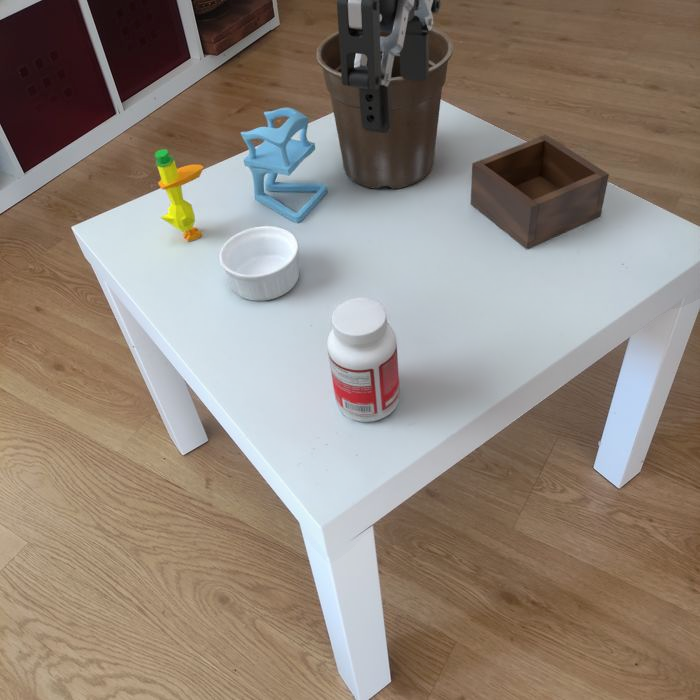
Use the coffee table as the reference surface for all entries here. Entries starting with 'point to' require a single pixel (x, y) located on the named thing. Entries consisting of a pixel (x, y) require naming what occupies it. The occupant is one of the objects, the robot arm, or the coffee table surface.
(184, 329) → the coffee table surface
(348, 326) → the pill bottle
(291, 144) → the chair
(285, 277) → the ramekin
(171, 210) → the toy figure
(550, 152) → the holder
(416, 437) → the coffee table surface
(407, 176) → the plant pot
